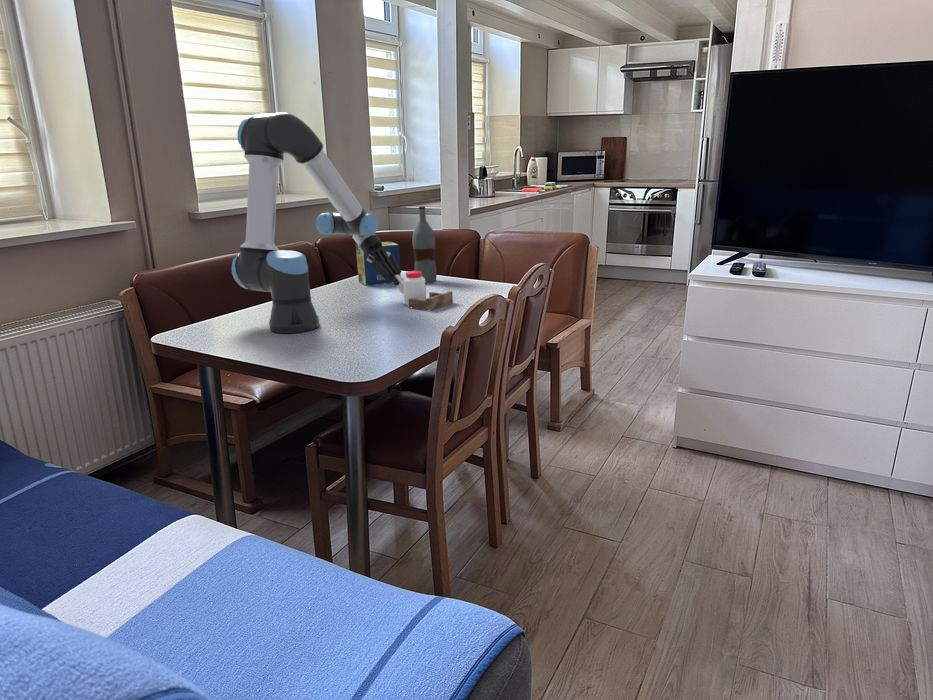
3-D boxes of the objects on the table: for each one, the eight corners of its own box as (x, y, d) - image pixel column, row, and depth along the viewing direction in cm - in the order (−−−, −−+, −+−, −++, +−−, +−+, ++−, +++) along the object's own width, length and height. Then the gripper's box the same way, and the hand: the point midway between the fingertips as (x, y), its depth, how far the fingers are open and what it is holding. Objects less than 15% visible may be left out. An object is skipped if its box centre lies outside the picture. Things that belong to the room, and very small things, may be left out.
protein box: (358, 282, 272) (355, 244, 268) (393, 277, 279) (390, 241, 274) (365, 286, 263) (362, 247, 259) (401, 281, 269) (399, 243, 265)
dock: (429, 310, 219) (428, 299, 218) (408, 307, 225) (407, 296, 223) (452, 302, 229) (452, 291, 228) (432, 300, 235) (431, 289, 233)
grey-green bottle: (434, 284, 262) (430, 207, 253) (412, 284, 264) (407, 208, 255) (439, 279, 271) (436, 205, 262) (418, 279, 272) (413, 205, 264)
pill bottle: (425, 305, 227) (424, 273, 224) (403, 305, 228) (401, 274, 224) (427, 300, 235) (425, 269, 232) (405, 300, 235) (403, 270, 232)
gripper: (375, 245, 245) (411, 293, 241) (350, 250, 235) (388, 301, 231) (384, 231, 241) (422, 281, 236) (360, 236, 230) (398, 288, 226)
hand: (405, 291), depth 234 cm, fingers closed
